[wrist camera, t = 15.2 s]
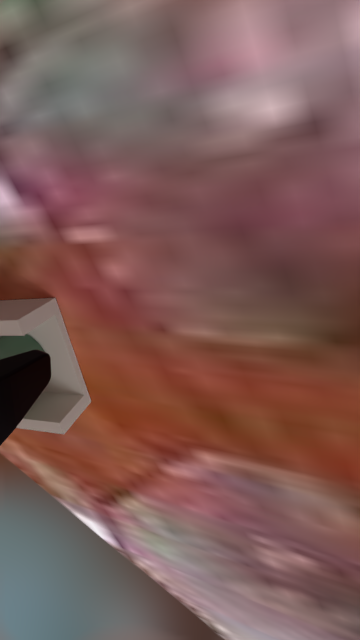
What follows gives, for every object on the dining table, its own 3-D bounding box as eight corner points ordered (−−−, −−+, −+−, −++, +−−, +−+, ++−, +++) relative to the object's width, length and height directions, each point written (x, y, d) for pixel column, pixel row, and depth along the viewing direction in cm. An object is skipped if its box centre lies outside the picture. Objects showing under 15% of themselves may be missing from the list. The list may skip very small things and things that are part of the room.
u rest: (55, 297, 25) (17, 320, 22) (91, 401, 29) (64, 434, 26) (-36, 302, 28) (-81, 322, 25) (8, 394, 33) (-25, 422, 29)
